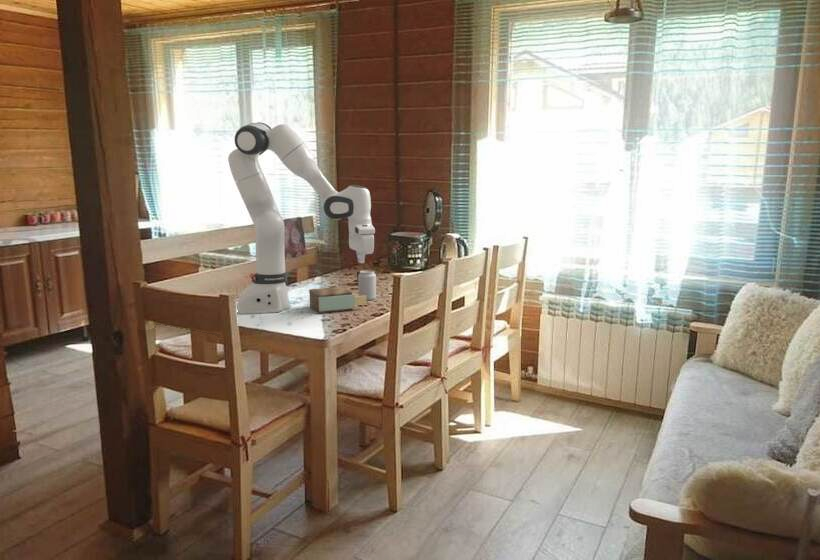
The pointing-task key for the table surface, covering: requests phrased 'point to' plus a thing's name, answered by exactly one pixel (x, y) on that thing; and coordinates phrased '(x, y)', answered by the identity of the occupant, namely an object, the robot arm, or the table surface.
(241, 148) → the robot arm
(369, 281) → the can
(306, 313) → the table surface
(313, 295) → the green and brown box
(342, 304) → the green yellow-tipped stick
